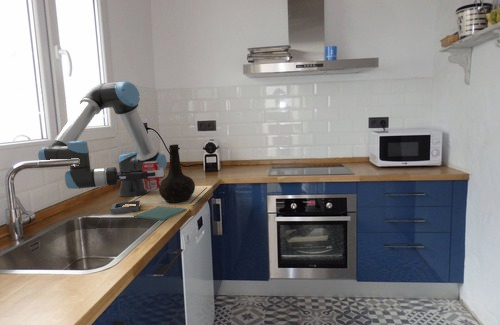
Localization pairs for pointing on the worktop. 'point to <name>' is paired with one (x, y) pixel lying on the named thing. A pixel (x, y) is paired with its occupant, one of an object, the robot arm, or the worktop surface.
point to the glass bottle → (176, 180)
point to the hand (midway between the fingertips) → (163, 171)
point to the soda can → (152, 182)
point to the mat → (160, 213)
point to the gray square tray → (119, 209)
